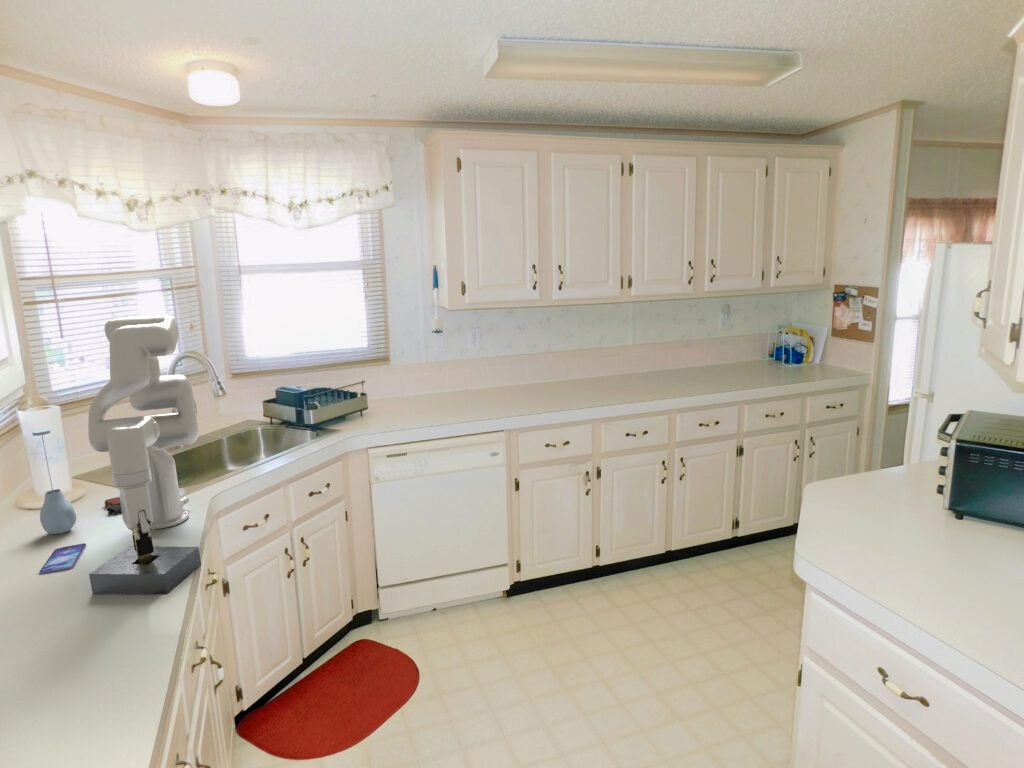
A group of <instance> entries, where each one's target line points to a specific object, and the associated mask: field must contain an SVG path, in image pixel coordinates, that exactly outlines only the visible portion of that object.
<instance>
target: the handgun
mask: <svg viewBox="0 0 1024 768" xmlns="http://www.w3.org/2000/svg"><path fill="white" fill-rule="evenodd" d="M104 507H105V508H106V509H107V513H108V515H115V514H120V513H121V514H122V509H121V501H120V496H116V497H113V498H109V499H108V498H107V499H105V500H104Z"/></svg>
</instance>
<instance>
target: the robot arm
mask: <svg viewBox="0 0 1024 768" xmlns="http://www.w3.org/2000/svg"><path fill="white" fill-rule="evenodd" d="M179 333H180V332H179V325H178V323H177V321H176V319H175V317H174V316H172V315H168V314H164V315H163V314H162V315H161V314H159V315H158V314H157V315H143V316H142V315H140V316H124V317H116V318H112V319H110V320H108V321H106V322H105V324H104V334H105V337H106V339H107V341H108V343H109V376H110V377H109V381H108V382H107V383H106V384H105V385H104V386H103V387H102V388H101V389H100V390H99V391H98V393H96V395H95V396H94V398H93V399H92V401H91V404H90V406H89V409H88V423H87V425H88V426H87V428H88V430H87V431H88V434H87V435H88V440H89V444H90V446H91V448H92V449H93V450H94V451H96V452H99V453H109V454H108V455H109V456H108V457H109V462H110V466H111V467H110V468H111V473H112V474H111V475H112V480H113V485H114V488H115V489H118V490H119V492H118V493H119V497H120V501H121V509H122V512H121V517H122V521H123V522H124V524H125V526H126V527H127V529H128V530H130V531H131V532H132V540H133V546H134V548H135V551H137V552H138V556H143V555H146V554H150V553H153V552H154V550H153V546H154V544H153V537H152V535H151V534H152V533H151V530H160V529H161V530H162V529H167V528H170V527H174V526H176V525H179V524H181V523H183V522H184V521H186V520H187V519H188V518H189V516H190V514H189V511H188V510H186V509H184V505H186V504H188V503H189V502H190V499H189V497H187V496H184V497H182V498H181V495H180V494H181V493H180V488H179V481H178V476H177V475H178V473H177V467H176V461H175V459H174V457H173V455H171V454H170V453H169V452H168V451H167V450H165V448H169V447H170V448H171V447H172V448H173V447H177V446H178V447H179V446H185V445H191V444H193V443H195V442H196V441H197V440H198V437H199V427H198V426H199V425H198V419H197V418H198V417H197V412H196V405H195V399H194V392H193V386H192V384H191V381H190V379H189V378H188V377H187V376H185V375H183V374H171V375H169V374H168V375H163V374H161V369H160V362H159V361H160V360H159V357H167V356H171V355H172V354H174V352H175V351H176V348H177V344H178V341H179ZM127 398H128V399H129V402H130V406H131V408H132V409H133V410H134V411H138V412H150V411H152V412H153V411H160V410H169V409H174V410H177V412H171V413H160V414H152V415H151V414H150V415H139V416H131V417H120V418H119V417H118V418H111V419H105V416H106V414H107V412H108V411H109V410H110V409H111V408H112V407H113V406H114V405H115V404H118V403H119V402H121V401H122V400H125V399H127ZM139 525H140V526H139ZM133 529H135V531H136V537H137V540H136V544H135V538H134V532H133ZM140 529H141V531H139V530H140ZM136 546H137V550H136Z"/></svg>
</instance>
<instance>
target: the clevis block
mask: <svg viewBox="0 0 1024 768" xmlns="http://www.w3.org/2000/svg"><path fill="white" fill-rule="evenodd" d="M153 550H154V552H153V553H152V556H153V562H151V563H150V564H139V563H138V557H137V551H135V548H134V545H133V546H132V545H131V546H128V547H126V549H123V550H122V551H120V552H119V553H118V554H116V555H115V556H114V557H111V558H110V559H109V560H107V561H106V562H104V563H103V564H101V565H100V566H99V567H97V568H95V569H94V570H92V571H91V572H89V573H88V577H89V582H90V588H91V594H92V595H139V596H140V595H143V596H144V595H148V596H149V595H150V596H151V595H155V596H156V595H157V596H158V595H161V596H164V595H165V596H168V594H170V592H172V591H173V590H175V588H177V587H178V586H179V585H180V584H181V583H182V582H184V581H185V580H186V579H187V578H188V577H189V576H191V575H192V574H193V573H194V572H196V570H198V569H199V568H200V567H201V566H202V562H201V561H202V559H201V555H200V554H201V553H200V548H199V546H154V545H153Z"/></svg>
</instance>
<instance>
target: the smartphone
mask: <svg viewBox="0 0 1024 768" xmlns="http://www.w3.org/2000/svg"><path fill="white" fill-rule="evenodd" d="M86 548H87V544H86V543H85V542H84V543H83V542H82V543H77V544H74V545H73V544H71V545H67V546H62V547H59V548H58V547H57V548H55V549H54V550H53V551H52V552H51V554H50V555H49V557H48V558H47V560H46V561H45V563H43V565H42V567H41V568H40V570H39V571H38V573H39V574H40V575H46V574H51V573H57V572H62V571H68V570H72V569H74V568H75V567H76V565H77V563H78V562H79V559H81V556H82V554H83V552H84V551H85V549H86Z"/></svg>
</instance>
